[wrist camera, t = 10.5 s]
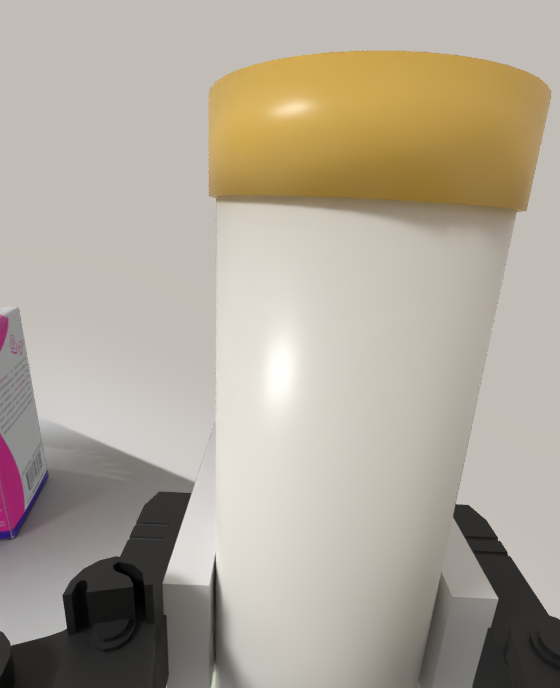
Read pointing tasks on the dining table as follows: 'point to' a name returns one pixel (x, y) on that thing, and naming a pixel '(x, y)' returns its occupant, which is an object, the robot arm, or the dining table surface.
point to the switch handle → (352, 345)
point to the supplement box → (17, 429)
